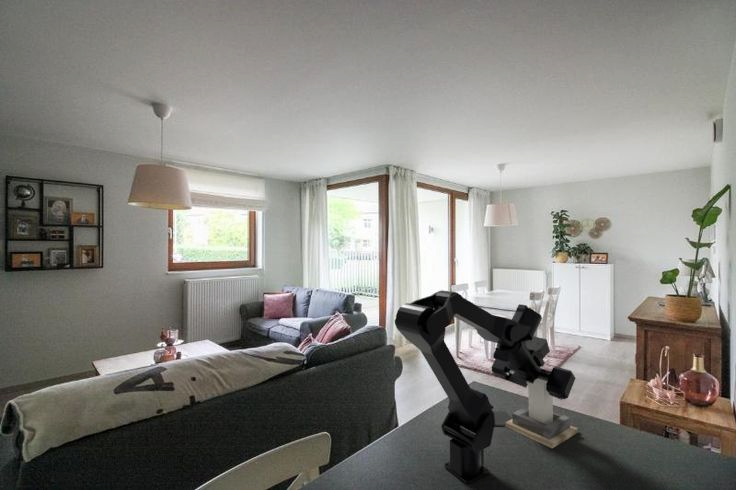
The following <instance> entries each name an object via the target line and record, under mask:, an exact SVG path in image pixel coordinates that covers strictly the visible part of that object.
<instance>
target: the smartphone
mask: <svg viewBox="0 0 736 490" xmlns="http://www.w3.org/2000/svg"><path fill="white" fill-rule="evenodd" d="M493 413H494V417H495V425H494V427H505V422H507V421H509V420H511V419H512V415H511V414H510V413H509V412H508V411H505V410H504V411H503V410H495V411H494V410H493Z"/></svg>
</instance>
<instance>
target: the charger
mask: <svg viewBox="0 0 736 490" xmlns="http://www.w3.org/2000/svg"><path fill="white" fill-rule="evenodd" d="M546 383H547V381H545V380H541V379H538V378H537V379H536V380H535V381H534V383H533V384H532V383H529V382H527V384H528V385H527V387H528V406H529V417H530V418H532V419H535V420H537V421H540V422H542V423H544V424H548V423H550V422H552V421H553V411H554V397H553V396H551V395H549V393H548V392H547V390H546Z"/></svg>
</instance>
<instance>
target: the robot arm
mask: <svg viewBox="0 0 736 490" xmlns="http://www.w3.org/2000/svg"><path fill="white" fill-rule="evenodd" d="M453 318H455V319H457V320H459V321H461V322H463V323H465V324H467V325H469V326H470V327H472V328H473V329H475V331H476V333H477V335H479V336H480V337H481V338H482V339H483V340H484V341H488V342H492V343H496V347H495V348H494V352H493V356H492V357H493V359H494V361H493V363H492V365H491V372H492V373H493V375H494V376H496V377H498V378H500V379H503V380H504V381H508V382H510V383H512V384H515V385H518V386H520V387H523V388H525V389H526V388H527V387H528V382H529V383H532V384H533V383H534V381H535V380H536V379H537V378H538V379H541V380H545V381H547V383H546V390H547V392H548V393H549V395H551V396H553V398H555V399H558V400H560V401H563V400H566V399H568V398H569V396H570V393H571V391H572V388H573V386H574V384H575V381H576V377H575V375H574V373H573V371H572V370H569V369H566V368H562V367H559V366H554V367H553V368H552V370H548V369H544V368H542V367H544V365H545V363H546V362H545V360H544V359H545V357H547V355H548V354H550V346H549V343H548V340H547V338H544V337H538V336H535V335H536V332H537V330H538V327H539V326H540V325H541V324H540V323H541V322H542V320H543V318H542V315H541V314H540V313H538V312H537V311H536V310H533V309H532V308H530V307H528V305H526V304H518V305H517V307H516V309H515V312H514V314H513V316H512V318H508V317H503V316H499V315H495V314H492V313H490V312H488V311H487V310H485V309H483V308H482V307H480V306H478V305H476V303H473V302H471V301H470V300H468V299H467V298H465V297H464V296H462V295H461V294H460V293H459V292H456V291H450V290H449V291H448V290H443V289H441V290H439V291H437V292H434V293H433V294H431V295H429V296H425V297H422V298H418V299H416V300H414V301H412V302H407V303H403V304H402V305H400V307H399V308H398V310H397V312H396V315H395V318H394V325H395V327H396V330H397V331H398V332H400V334H401V335H402V336H403V337H404V338H405V339H406V340H407V341H408V342H409V343H411V345H413V346H415V347H416V348H417V349H418V350H419V351H420V352H421V354H422V356H423V357H424V359H425V361H426V362H427V364H428V366H429V367H430V369H431V371H432V372H433V374H434V376H435V377H436V379H437V381H438V383H439V384H440V386H441V389H442V390H443V391H444V393H445V395H446V396H447V398H448V399H449V400H448V405H447V410H448V413H447V415H446V417H445V418H444V420H443V422H442V424H441V427H440V429H441V430H442V434H443V435H444V436H447V437H448V438H450V439H449V461H448V462H445V463H444V468H445V469H446V470H448V471H449V472H450V473H452V474H453V475H454V476H456V477H457V478H458V479H460V480H461V481H462V482H464V483H465V484H470V483H473V482H475V481H476V480H478V479H481V478H483V477H485V476H487V475H489V474H490V469H488V468H487V467H485V466H484V465H485V464H484V463H485V461H484V459H485V458H484V456H485V449H486V448H489V447H490V446H491V445H492V439H493V435H494V430H495V426H494V425H495V417H494V413H493V411H494V410H493V409H494V406H493V404H491V403H490V399H489V397H488V395H487V394H486V393H484V392H482V391H479V390H477V389H475V388H471V387H470V385H469V383H468V381H467V380H466V378H465V376H464V374H463V372H462V371H461V368H460V367H459V365H458V363H457V362H456V360H455V358H454V356H453V354H452V353H451V351H450V349H449V347H448V345H447V344H446V341H445V337H446V336H445V335H446V328H447V327H448V326H450V325H451V324H452V322H453V320H454V319H453Z"/></svg>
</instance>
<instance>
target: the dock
mask: <svg viewBox="0 0 736 490" xmlns="http://www.w3.org/2000/svg"><path fill="white" fill-rule="evenodd" d="M511 417H512V419H511V420H509V421H507V422H505V426H504V427H505V428H508V429H509V430H512V431H514V432H516V433H518V434H520V435H523V436H525V437H527V438H529V439H531V440H532V441H535V442H538V443H539V444H542V445H544V446H546V447H548V448H550V449H554V448H555V447H557V446H559V445H560V444H561V443H564V442H565V441H566V440H568V439H570V438H571V437H573V436H574V435H576V434H578V432H579V428H578V427H577V426H576V427H575V426H573V425H571V417H570V416H566V415H565V414H562V413H559V412H557V411H554V410H553V421H552V422H550V423H548V424H544V423H542V422H540V421H537V420H535V419H532V418H530V417H529V405H527V406H525V407H523V408H520V409H519V410H517V411H514V412H512V415H511Z"/></svg>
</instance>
